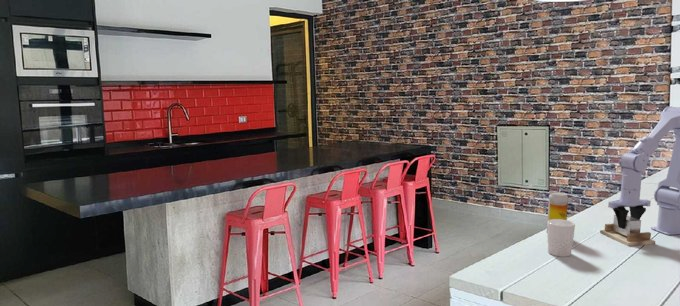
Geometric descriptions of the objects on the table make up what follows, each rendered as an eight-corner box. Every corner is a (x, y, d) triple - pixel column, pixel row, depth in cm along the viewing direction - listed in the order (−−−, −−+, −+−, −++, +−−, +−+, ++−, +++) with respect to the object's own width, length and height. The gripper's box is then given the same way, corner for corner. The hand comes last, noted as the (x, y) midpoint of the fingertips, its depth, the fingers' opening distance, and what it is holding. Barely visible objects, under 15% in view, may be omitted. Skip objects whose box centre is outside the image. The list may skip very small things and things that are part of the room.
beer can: (567, 239, 180) (570, 196, 177) (548, 238, 181) (550, 195, 179) (563, 233, 186) (566, 192, 183) (545, 232, 187) (547, 191, 184)
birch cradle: (625, 231, 188) (625, 221, 187) (654, 243, 174) (655, 233, 174) (599, 232, 186) (600, 223, 186) (628, 245, 173) (628, 235, 172)
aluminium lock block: (623, 229, 185) (624, 214, 184) (639, 236, 177) (641, 220, 176) (612, 230, 184) (614, 214, 183) (629, 237, 176) (630, 221, 175)
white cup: (571, 250, 169) (573, 220, 167) (574, 258, 161) (576, 227, 160) (545, 247, 171) (547, 218, 169) (546, 256, 164) (548, 224, 162)
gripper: (641, 185, 183) (637, 222, 185) (603, 186, 180) (600, 225, 182) (656, 189, 176) (652, 228, 178) (617, 191, 173) (614, 231, 175)
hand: (627, 227), depth 180 cm, fingers closed on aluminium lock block, 4 cm apart
